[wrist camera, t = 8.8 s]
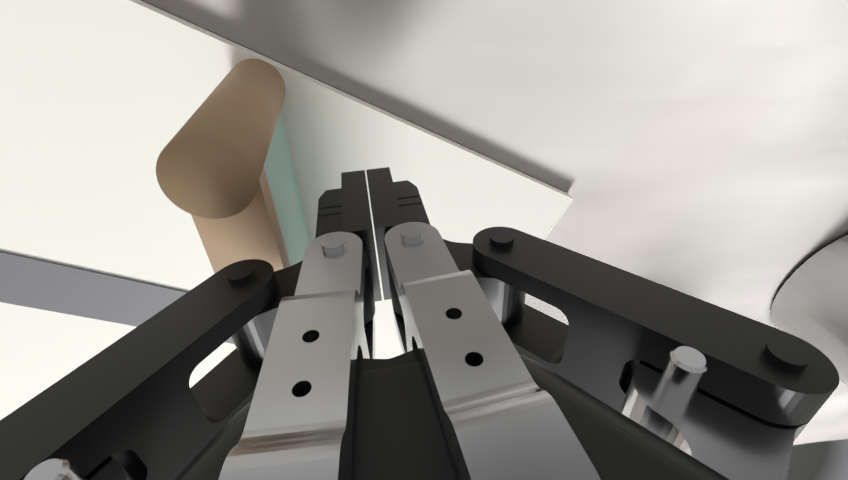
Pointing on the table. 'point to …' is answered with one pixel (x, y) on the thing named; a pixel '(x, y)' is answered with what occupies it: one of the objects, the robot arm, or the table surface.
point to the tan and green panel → (238, 172)
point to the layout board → (139, 189)
